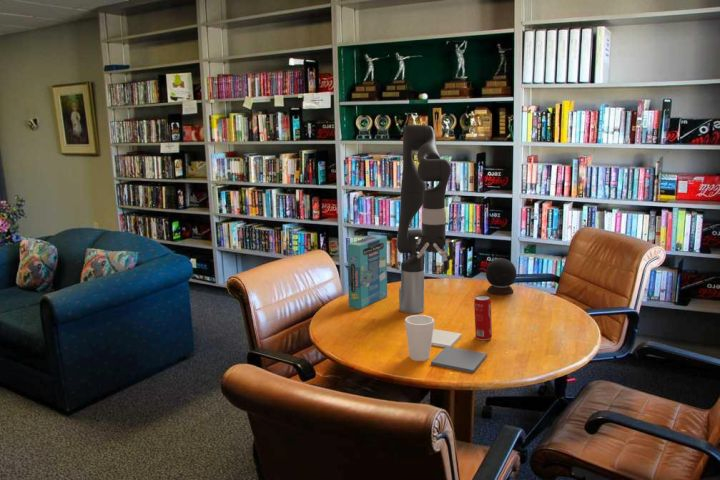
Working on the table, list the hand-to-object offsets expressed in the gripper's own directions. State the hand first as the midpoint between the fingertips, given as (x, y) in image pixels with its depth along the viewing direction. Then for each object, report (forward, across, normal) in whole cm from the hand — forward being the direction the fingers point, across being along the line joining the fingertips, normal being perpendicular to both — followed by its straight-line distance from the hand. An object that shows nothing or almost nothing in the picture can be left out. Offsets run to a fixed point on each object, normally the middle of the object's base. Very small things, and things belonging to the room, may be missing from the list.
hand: (433, 269), depth 193 cm
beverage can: (+28, +12, +18) cm, 36 cm away
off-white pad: (+28, -1, +10) cm, 30 cm away
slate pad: (+28, +11, -4) cm, 30 cm away
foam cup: (+28, -2, -7) cm, 29 cm away
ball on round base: (+28, +3, +74) cm, 79 cm away
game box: (+28, -43, +36) cm, 63 cm away
